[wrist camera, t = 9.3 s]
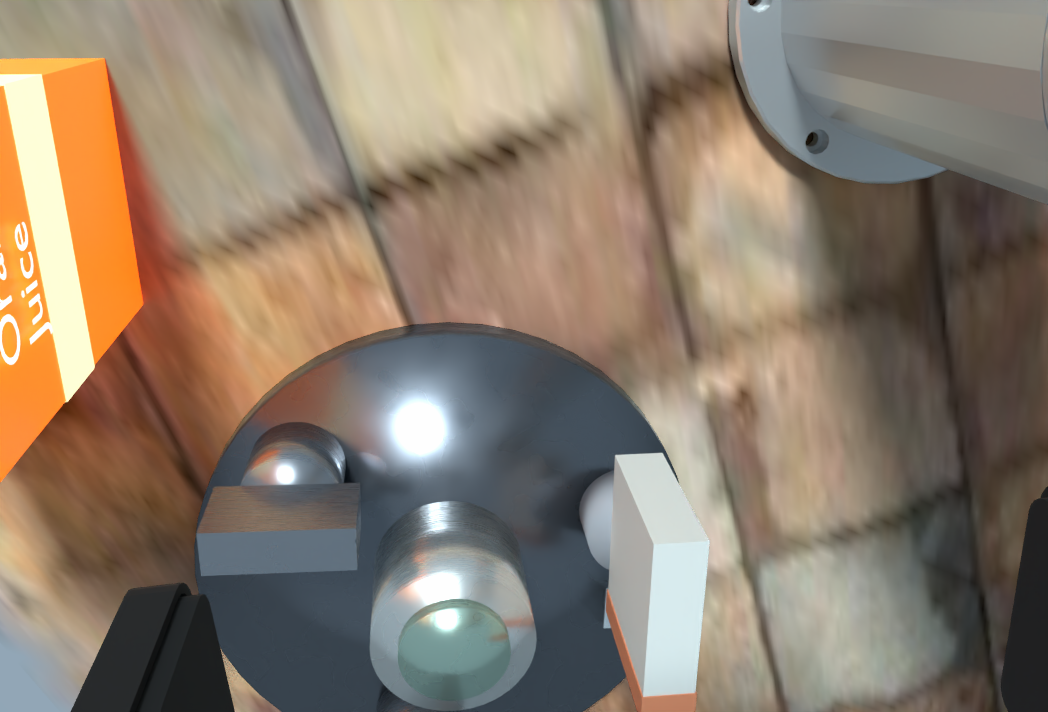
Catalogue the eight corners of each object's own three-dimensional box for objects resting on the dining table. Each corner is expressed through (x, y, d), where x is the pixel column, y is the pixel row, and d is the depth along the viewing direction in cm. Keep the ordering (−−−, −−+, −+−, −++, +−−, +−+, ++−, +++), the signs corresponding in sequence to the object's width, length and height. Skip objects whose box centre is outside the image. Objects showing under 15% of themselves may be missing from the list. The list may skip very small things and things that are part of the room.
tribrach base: (700, 320, 38) (766, 398, 31) (657, 717, 45) (703, 852, 38) (178, 324, 35) (121, 409, 28) (223, 743, 43) (187, 891, 36)
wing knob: (581, 431, 37) (625, 546, 29) (672, 428, 37) (737, 540, 30) (576, 583, 40) (615, 723, 32) (660, 577, 40) (719, 715, 32)
